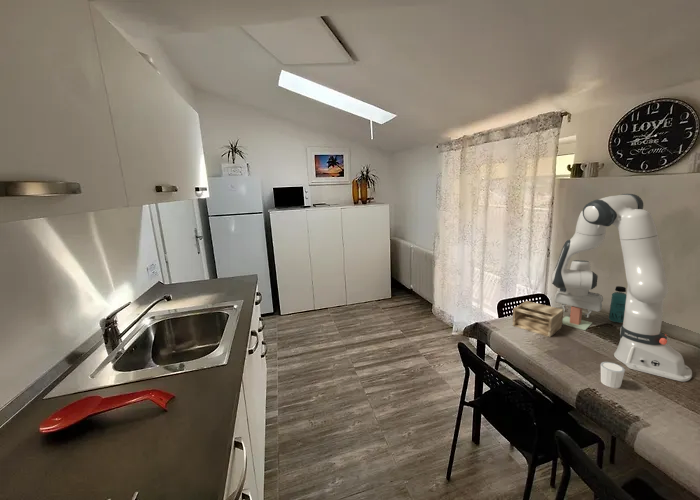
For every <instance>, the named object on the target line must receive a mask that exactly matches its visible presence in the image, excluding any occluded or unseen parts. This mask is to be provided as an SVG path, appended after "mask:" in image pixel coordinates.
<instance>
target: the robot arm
mask: <svg viewBox="0 0 700 500" xmlns="http://www.w3.org/2000/svg"><path fill="white" fill-rule="evenodd" d="M612 225H613V226H614V227H616V229H617V230H618V236H619V241H620V248H621V253H622V259H623V265H624V271H625V279H626V284H627V287H626V304H625V312H624V320H623V322H622V325H621V326H620V331H619V337H620V340H619V343H618V345H617V348H616V349H615V351H614V353H613V355H614V358H616V360H618V361H619V362H621V363H623V365H625V366H626V367H627V368H628V369H631V370H634V371H639V372H642V373H645V374H650V375H654V376H658V377H662V378H666V379H668V380H669V379H670V380H674V381H678V382H682V383H683V382H689V381H690V380H691V379H692V377H693V371H692V369H691V368H690V367H689V366H688V365H686V364H685V360H684V356H683V355H682V354H681V353H680V352H679V351H677V350H676V349H675V348H673V347H672V346H671V345H670V344H668V337H667V336H668V335H667V334H666V333H665V334H664V333H662V332H661V329H662V321H663V317H664V304H665V298H666V297H667V295H668V293H669V283H668V280H667V273H666V270H665V269H666V268H665V265H664V260H663V253H662V249H661V242H660V238H659V233H658V229H657V226H656V222H655V220H654V217H653V215H652V214H651V212H650V211H648V210H646V209H644V201H643V199H642V198H641V197H640V196H639V195H638V194H635V193H622V194H618V195H610V196H609V195H608V196H606V197H602V198H598V199H595V200H594V199H593V200H592V201H590V202H588V203H586V204H585V205H584V207H583V208H582V210H581V211H580V213H579V215H578V217H577V221H576V225H575V231H574V234H573V236H572V237H571V238H570V239H567V240H566V241H565V243H564V244H563V246H562V249H561V252H560V254H559V256H558V259H557V263H556V265H555V268H554V270H553V272H552V274H551V284H552V285H554V287H555V288H557V289H556V290H557V291H556V292H555V295H554V298H553V299H554V302H555V303H556V304H559V305H560V304H561V307H562V309H563V313H569V311H568V310H569V308H567V307H566V306H569V307H572V306H574V307H578V308H582V310H584V309H585V310H587V312H586V313H585V314H584V318H590V314H591V313H592V312H597V313H598V312H600V311H602V310H603V309H602V307H603V305H602V302H603V301H604V296H603V295H602V294H600V293H598V292H593V291H590V290H594V289H595V288H596V287H597V286H598V277H599V276H598V274H597V273H595V272H594V271H592V268H591V267H592V266H591V262H590V261H588V260H582V259H580V260H579V259H577V260H576V259H575V260H572V261H571V263H570V267H569V269H567V267H568V265H569V262H570V260H571V258H572V257H573V256H574V255H576V254H578V253H579V254H580V253H584V252H587V251H591V250H595V249H596V248H599V247H600V246H601V245H602V244H603V243H604V240H605V237H606V232H607V227H610V226H612Z"/></svg>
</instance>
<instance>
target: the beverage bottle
mask: <svg viewBox="0 0 700 500" xmlns="http://www.w3.org/2000/svg"><path fill="white" fill-rule="evenodd" d="M614 290H615V292H613V293H612V294H611V301H610V305H609V307H610V308H609V313H608V314H609V315H608V320H610V321H612V322H613V323H623V320H624V312H625V304H626V295H627V287H625V286H622V285H621V286H620V285H617V286H615V289H614Z"/></svg>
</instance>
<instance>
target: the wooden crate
mask: <svg viewBox="0 0 700 500" xmlns="http://www.w3.org/2000/svg"><path fill="white" fill-rule="evenodd" d="M563 318H564V309H563V308H558V307H554V306H552V305H551V306H550V305H546V304H541V303H538V302H533V301H528V300H526V301H524V302H522V303H520V304H519V305H517V306H515V307H514V308H513V309H512V327H515V328H517V329H522V330H525V331H527V332H531V333H534V334H537V335H541V336H545V337H548V338H551V337H553V335H555V334H557V332H558V331H559V330H561V329H562V327H563V324H562V320H563Z"/></svg>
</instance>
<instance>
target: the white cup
mask: <svg viewBox="0 0 700 500" xmlns="http://www.w3.org/2000/svg"><path fill="white" fill-rule="evenodd" d="M625 371H626V369H625V368H624V367H623V366H622V365H620V364H617V363H614V362H611V361H602V362H601V363H600V382H601V384H603V385H605V386H606V387H608V388H612V389H620V388H621V387H622V382H623V379H624V375H625V373H626V372H625Z"/></svg>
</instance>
